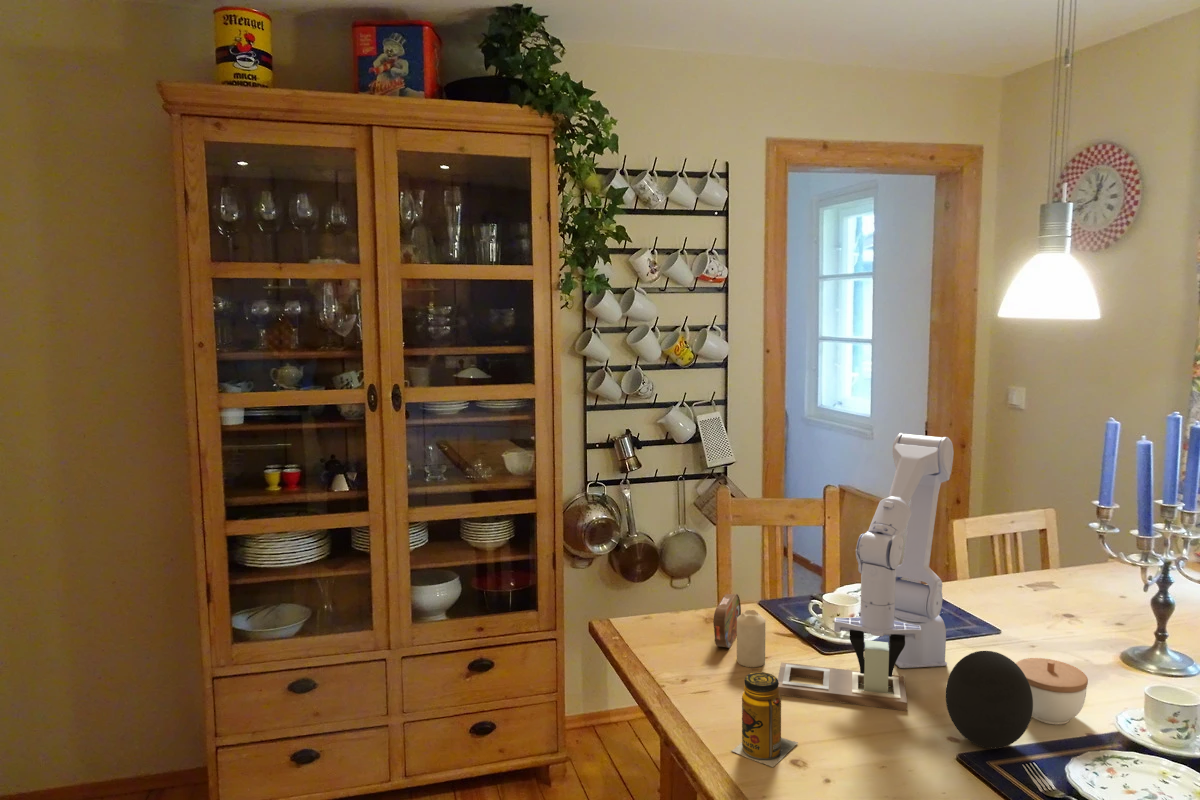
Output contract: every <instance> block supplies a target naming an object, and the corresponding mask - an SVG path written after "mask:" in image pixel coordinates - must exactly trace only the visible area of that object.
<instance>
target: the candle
mask: <svg viewBox="0 0 1200 800" xmlns="http://www.w3.org/2000/svg"><path fill="white" fill-rule="evenodd" d="M736 661H737V663H738V664H739V665H740V666H743V667H746V668H759V667H762V666H763V665H765V664H766V618H764V617H763V616H762V615H761V613H759V612H758V611H756V610H754V609H752V610H751V609H750V610H748V609H747V610H745V611H744V612H741V615H740V616H739V617H738V618H737V636H736Z"/></svg>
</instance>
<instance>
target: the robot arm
mask: <svg viewBox="0 0 1200 800" xmlns="http://www.w3.org/2000/svg"><path fill="white" fill-rule="evenodd" d="M954 454H955V452H954V445H953V441H952V440H951V438H949V437H948V436H943V437H942V436H931V435H921V434H910V433H905V432H899V434H897V436H895V438H894V441H893V444H892V458H893V463H894V467H895V471H894V475H893V479H892V482H891V486H890V488H889V489H890V490H889V492H888V497H885V498H883V499H881V500H880V501H879V502H878V504H877V507H876V509H875V513H874V515H873V517H872V520H871V522H870V525H869V528H868V530H867V531H866V532H865V533H864V532H863V533H861V534H860V535H859V536H858V539H857V543H856V547H855V558H856V561H857V563H858V564H857V565H858V568H857V569H858V573H859V574H860V575H861V576H860V610H859V611H860V616H859V617H834V622H833V623H834V625H833V630H834V633H835V632H836V633H840V632H848V633H849V641H850V643H851V645H852V647H853V649H854V652H855V654H856V657H857V661H858V665H859V671H860V673H862V674H864V648H865V634H869V635H871V636H876V637H884V636H888V646H889V672H888V677H892V675H893V672H894V668H895V665H896V666H897V667H898V668H899V669H911V668H913V669H914V668H926V667H927V668H928V667H929V668H930V667H944V666H948V662H947V661H946V647H947V646H946V645H947V643H946V642H947V630H946V629H947V628H946V625H945V622H944V620H943V618H942V617H941V616H940V614H941V611H942V607H943V599H944V598H943V580H942V579H941V578H940V576H938V575H937V573H935V572H934V571H933V570H932V569H931V567H930V562H931V552H932V547H933V546H932V544H933V538H934V531H935V522H936V517H937V514H936V513H937V507H938V500H939V492H940V488H941V484H942V483H945V482H948V481H949V480H950V478H951V475H952V469H953V461H954ZM909 503H910V507H909ZM905 531H906V534H905ZM904 534H905V541H904V539H903V536H904ZM903 548H904V550H903ZM901 559H902V563H901V564H900V562H901ZM904 578H905V579H904ZM907 579H908V580H907ZM911 580H914V581H911ZM921 582H922V583H921Z"/></svg>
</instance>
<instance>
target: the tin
mask: <svg viewBox="0 0 1200 800" xmlns="http://www.w3.org/2000/svg"><path fill="white" fill-rule="evenodd" d="M741 607H742V606H741V600H740V595H739V594H738V593H735V594H734V593H731V594H730V593H725V594H723V597H722V598H721V600H720V601H719V603H718V605H717V606H716V608H715V610H714V614H713V624H712V625H713V631H714V632H713V634H714V644H715V646H716V647H719V648H727V649H730V648H731V647H732V645H733V644H734V642H735V640H736V639H737V618H738V617H739V616H740V615H741V614H742V608H741Z"/></svg>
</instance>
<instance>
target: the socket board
mask: <svg viewBox="0 0 1200 800" xmlns="http://www.w3.org/2000/svg"><path fill="white" fill-rule="evenodd" d="M778 670H779V672H778V676H777V679H778V682H779V685H778V688H779V694H780V696H787V697H792V698H802V699H803V698H804V699H808V700H809V699H811V700H819V701H826V702H834V703H843V704H850V705H851V704H852V705H856V706H857V705H858V706H867V707H874V708H880V709H881V708H882V709H889V710H897V711H905V712H907V711H908V699H907V698H908V697H907V692H906V683H905V676H904V675H899V674H898V675H897V674H896V675H895V674H892V677H888V688H892V693H888V694H886V693H878V692H870V691H864V690H861V689H859V685H864V674H862V673H860V670H854V669H853V670H852V669H842V668H835V667H826V666H819V665H807V664H799V663H792V662H785V661H784V662H783V661H781V662H780V666H779V669H778ZM791 677H798V678H799V677H801V678H809V679H818V680H822V685H821V684H820V685H818V684H811V683H803V682H802V683H801V682H793V681H791Z"/></svg>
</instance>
